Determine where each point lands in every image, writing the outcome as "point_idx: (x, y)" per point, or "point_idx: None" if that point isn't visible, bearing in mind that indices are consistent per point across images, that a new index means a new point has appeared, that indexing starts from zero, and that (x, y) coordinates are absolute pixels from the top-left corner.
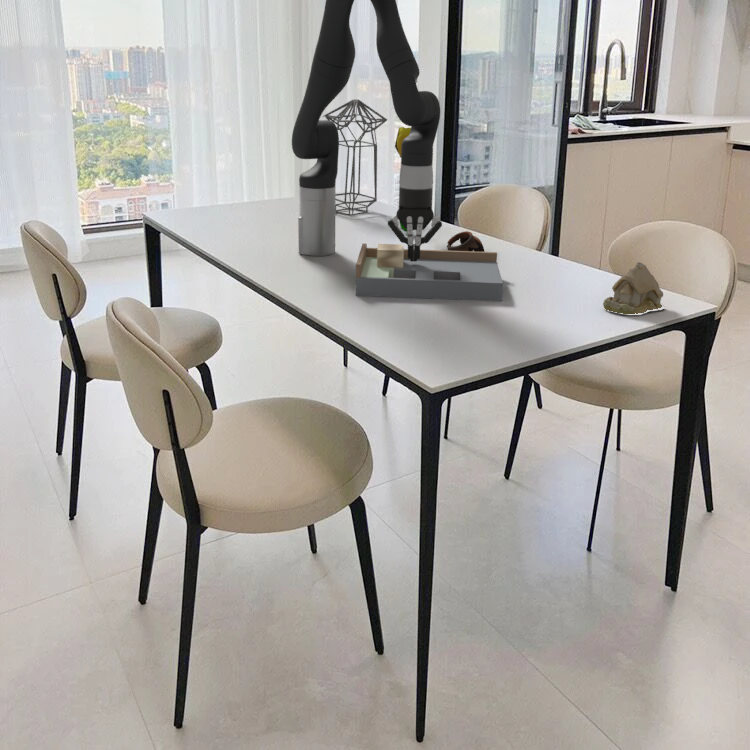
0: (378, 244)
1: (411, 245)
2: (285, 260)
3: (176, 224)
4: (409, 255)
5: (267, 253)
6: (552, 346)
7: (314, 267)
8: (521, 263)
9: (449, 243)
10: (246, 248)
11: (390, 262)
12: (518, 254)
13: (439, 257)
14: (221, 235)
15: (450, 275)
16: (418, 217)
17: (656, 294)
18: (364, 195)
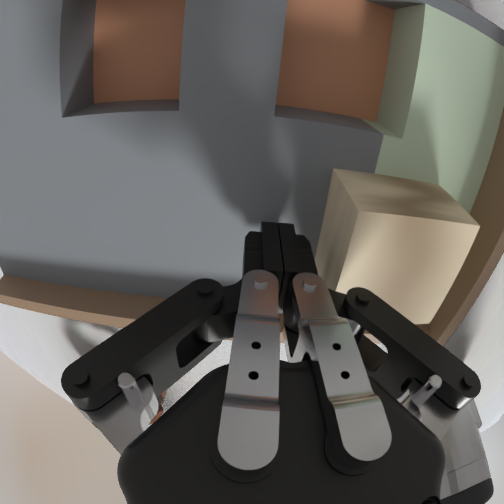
0: (432, 315)
1: (301, 273)
2: (497, 335)
3: (496, 413)
4: (301, 244)
5: (494, 360)
6: None
7: (483, 305)
8: (27, 338)
9: (158, 407)
10: (500, 372)
11: (399, 185)
12: (54, 378)
13: (160, 302)
14: (488, 402)
15: (106, 109)
16: (272, 459)
17: None
18: None
